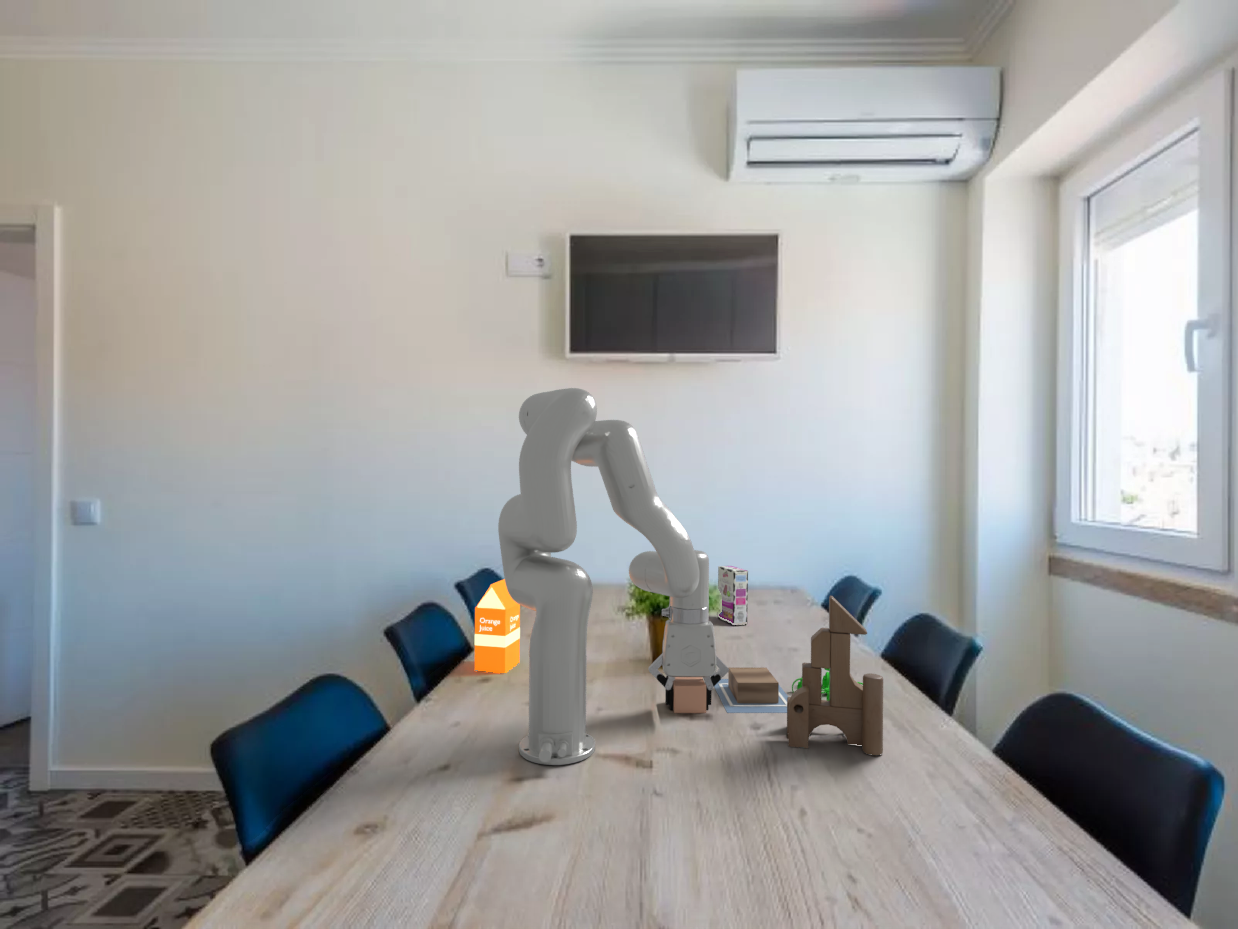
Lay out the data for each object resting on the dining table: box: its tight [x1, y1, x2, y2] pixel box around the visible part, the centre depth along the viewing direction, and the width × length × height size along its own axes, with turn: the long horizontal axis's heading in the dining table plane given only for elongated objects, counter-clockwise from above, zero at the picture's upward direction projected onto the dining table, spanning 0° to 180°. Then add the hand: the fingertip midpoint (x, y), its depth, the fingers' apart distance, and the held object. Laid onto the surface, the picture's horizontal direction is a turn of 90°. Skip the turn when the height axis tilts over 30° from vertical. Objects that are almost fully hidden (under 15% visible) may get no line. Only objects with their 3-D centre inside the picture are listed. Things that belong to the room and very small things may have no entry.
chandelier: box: [791, 668, 863, 701], centre depth 138 cm, size 15×15×7 cm
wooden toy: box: [786, 595, 884, 756], centre depth 116 cm, size 16×7×25 cm, turn 75°
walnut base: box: [727, 667, 780, 703], centre depth 137 cm, size 10×8×4 cm
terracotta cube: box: [672, 677, 707, 714], centre depth 130 cm, size 6×6×6 cm
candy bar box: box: [717, 565, 749, 623], centre depth 205 cm, size 11×5×16 cm, turn 17°
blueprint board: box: [713, 678, 789, 714], centre depth 137 cm, size 20×14×1 cm
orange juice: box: [474, 578, 521, 674], centre depth 158 cm, size 8×9×20 cm
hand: (688, 707), depth 130 cm, fingers closed on terracotta cube, 6 cm apart
